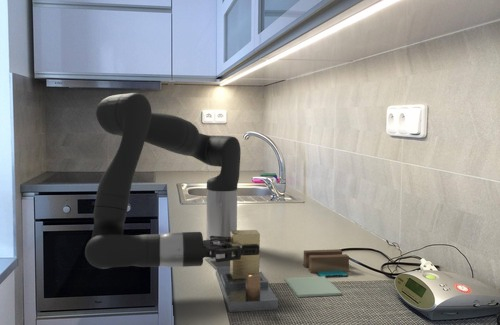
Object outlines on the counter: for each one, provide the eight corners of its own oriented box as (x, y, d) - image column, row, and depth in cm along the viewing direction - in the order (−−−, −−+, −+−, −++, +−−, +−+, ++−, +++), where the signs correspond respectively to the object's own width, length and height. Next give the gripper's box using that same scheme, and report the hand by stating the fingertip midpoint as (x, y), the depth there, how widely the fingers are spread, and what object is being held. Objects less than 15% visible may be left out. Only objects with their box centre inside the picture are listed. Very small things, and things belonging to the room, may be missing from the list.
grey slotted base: (215, 274, 130) (215, 246, 129) (255, 272, 132) (255, 245, 131) (229, 312, 105) (230, 278, 105) (278, 309, 107) (278, 276, 106)
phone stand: (303, 265, 139) (303, 250, 139) (339, 263, 141) (339, 249, 140) (311, 273, 132) (311, 257, 132) (348, 271, 134) (349, 256, 133)
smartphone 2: (329, 258, 144) (349, 274, 130) (329, 261, 144) (348, 277, 130) (304, 259, 143) (320, 276, 128) (304, 262, 143) (320, 279, 128)
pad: (284, 280, 126) (284, 278, 126) (324, 278, 128) (324, 276, 128) (297, 297, 114) (297, 294, 114) (341, 295, 116) (341, 292, 116)
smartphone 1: (252, 273, 132) (252, 270, 132) (221, 276, 129) (221, 274, 129) (232, 258, 146) (232, 255, 146) (204, 260, 143) (204, 258, 143)
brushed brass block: (230, 273, 120) (230, 230, 119) (255, 272, 121) (256, 229, 120) (232, 278, 116) (233, 234, 115) (259, 277, 117) (259, 233, 116)
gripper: (182, 240, 108) (263, 238, 111) (179, 225, 122) (251, 223, 125) (182, 276, 108) (263, 272, 112) (179, 257, 122) (251, 254, 125)
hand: (256, 246), depth 118 cm, fingers closed on brushed brass block, 4 cm apart
